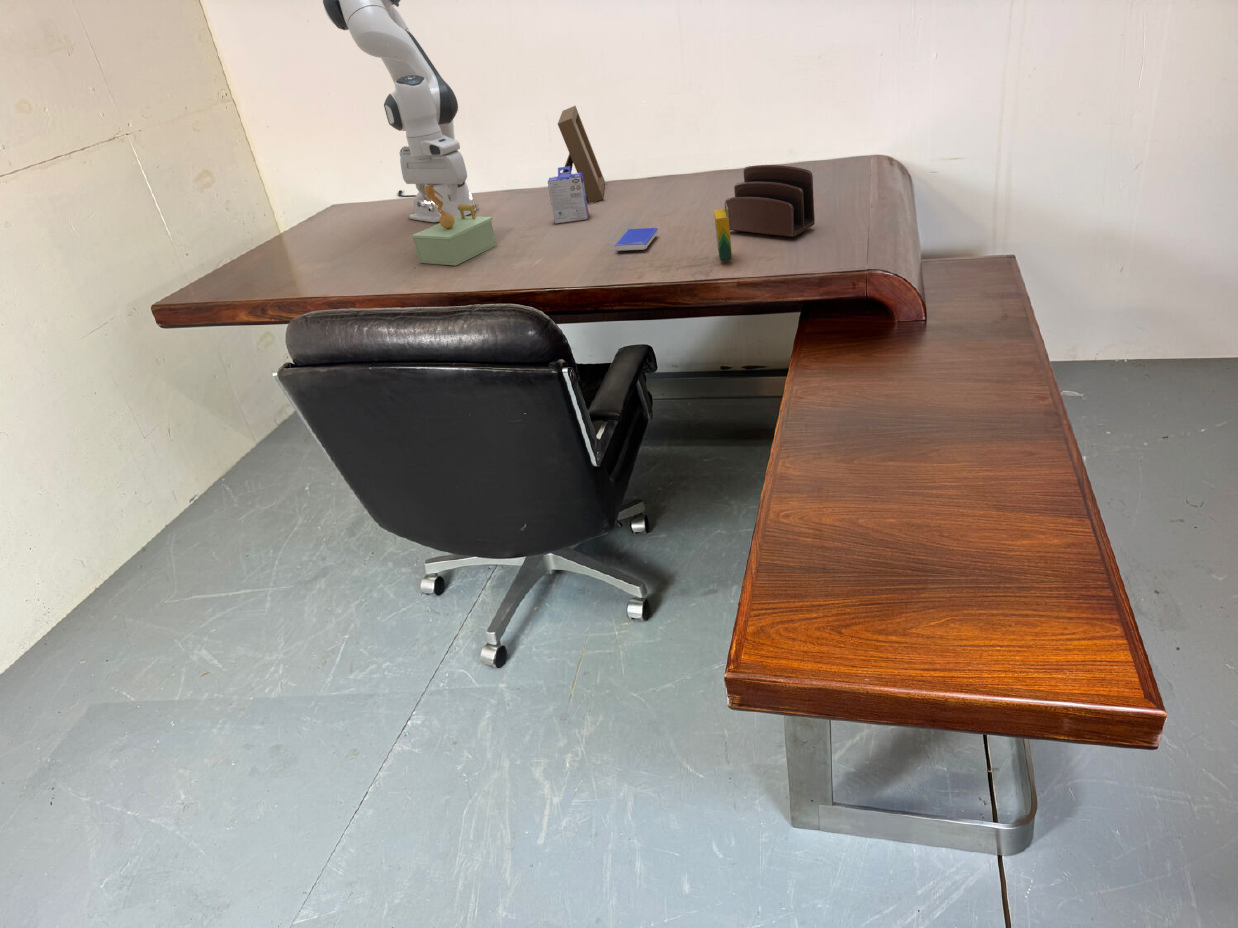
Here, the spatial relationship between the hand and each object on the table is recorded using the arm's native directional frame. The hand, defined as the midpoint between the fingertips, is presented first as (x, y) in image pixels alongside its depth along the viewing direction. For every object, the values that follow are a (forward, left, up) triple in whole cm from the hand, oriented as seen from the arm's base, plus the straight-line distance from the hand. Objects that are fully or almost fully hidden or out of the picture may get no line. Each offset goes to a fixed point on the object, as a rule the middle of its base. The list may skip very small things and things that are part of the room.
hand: (440, 200), depth 221 cm
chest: (0, +2, -15) cm, 15 cm away
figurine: (-1, 0, -8) cm, 8 cm away
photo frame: (+2, +58, -15) cm, 60 cm away
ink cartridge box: (+15, +35, -15) cm, 41 cm away
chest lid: (0, +2, -8) cm, 8 cm away
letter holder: (+78, +33, -15) cm, 86 cm away
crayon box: (+76, +12, -15) cm, 78 cm away
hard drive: (+48, +18, -15) cm, 53 cm away
